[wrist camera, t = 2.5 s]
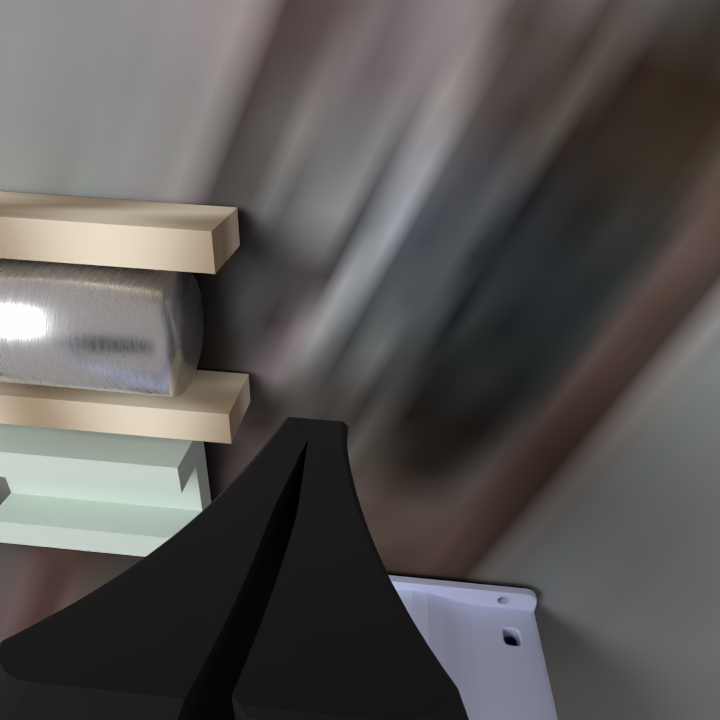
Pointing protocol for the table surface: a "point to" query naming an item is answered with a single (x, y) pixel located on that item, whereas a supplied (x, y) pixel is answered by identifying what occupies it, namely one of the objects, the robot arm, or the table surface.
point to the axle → (99, 327)
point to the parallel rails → (132, 250)
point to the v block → (98, 489)
